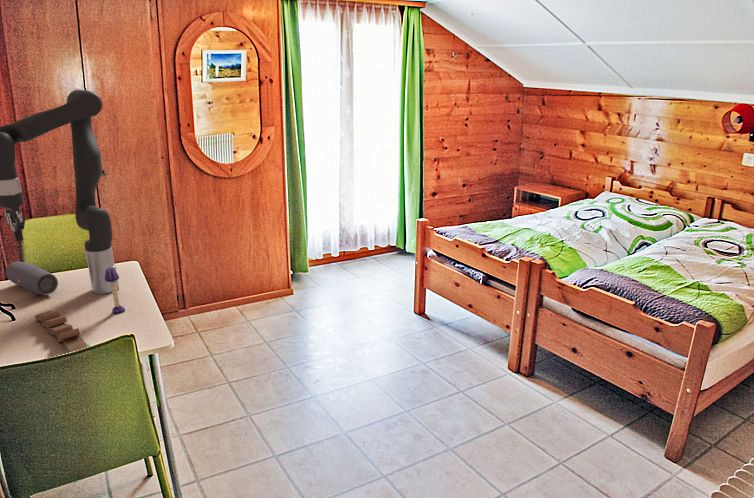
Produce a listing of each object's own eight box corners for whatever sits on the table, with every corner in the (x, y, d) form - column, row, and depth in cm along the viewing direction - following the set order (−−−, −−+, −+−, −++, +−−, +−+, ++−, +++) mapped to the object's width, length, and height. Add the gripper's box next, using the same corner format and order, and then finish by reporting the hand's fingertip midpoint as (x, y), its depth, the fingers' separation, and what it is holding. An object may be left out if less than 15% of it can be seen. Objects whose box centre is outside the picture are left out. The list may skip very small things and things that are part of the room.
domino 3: (46, 327, 194) (55, 330, 187) (61, 322, 198) (71, 325, 190) (47, 332, 194) (57, 336, 187) (63, 327, 198) (73, 330, 191)
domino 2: (41, 321, 198) (49, 321, 191) (56, 316, 201) (65, 316, 194) (42, 327, 198) (51, 326, 191) (58, 322, 202) (67, 321, 194)
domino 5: (62, 339, 183) (70, 352, 176) (80, 334, 186) (88, 347, 179) (64, 345, 184) (71, 358, 176) (81, 340, 187) (89, 352, 179)
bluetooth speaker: (6, 287, 229) (1, 264, 225) (30, 280, 236) (26, 257, 233) (37, 301, 217) (31, 277, 214) (61, 293, 224) (56, 269, 221)
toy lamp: (117, 315, 207) (110, 271, 201) (107, 313, 208) (100, 269, 203) (127, 309, 211) (120, 267, 205) (117, 307, 213) (110, 265, 207)
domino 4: (56, 336, 188) (61, 332, 181) (72, 331, 192) (78, 327, 184) (58, 342, 188) (63, 339, 181) (74, 337, 191) (80, 333, 184)
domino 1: (34, 315, 202) (43, 315, 195) (49, 310, 206) (59, 310, 199) (36, 320, 202) (45, 320, 195) (51, 316, 206) (61, 315, 199)
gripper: (-12, 190, 195) (-1, 239, 201) (3, 197, 187) (14, 247, 193) (13, 186, 201) (23, 234, 207) (28, 192, 193) (38, 242, 199)
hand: (19, 240), depth 200 cm, fingers closed
